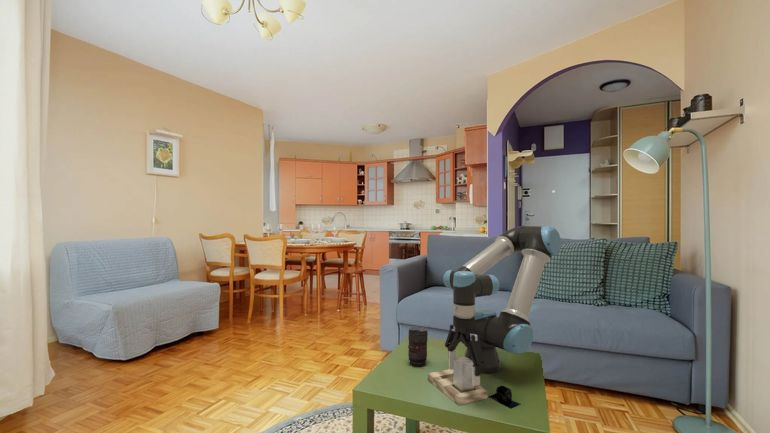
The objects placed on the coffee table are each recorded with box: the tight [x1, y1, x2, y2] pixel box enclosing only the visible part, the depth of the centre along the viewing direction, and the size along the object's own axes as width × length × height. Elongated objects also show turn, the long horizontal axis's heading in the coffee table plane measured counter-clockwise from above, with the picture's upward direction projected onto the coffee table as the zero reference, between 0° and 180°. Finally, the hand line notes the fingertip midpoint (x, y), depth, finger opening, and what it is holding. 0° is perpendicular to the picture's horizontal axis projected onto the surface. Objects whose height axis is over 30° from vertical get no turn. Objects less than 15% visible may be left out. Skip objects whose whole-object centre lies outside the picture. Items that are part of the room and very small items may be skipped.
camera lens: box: [407, 325, 429, 368], centre depth 149 cm, size 8×8×15 cm
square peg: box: [453, 356, 474, 393], centre depth 122 cm, size 5×5×12 cm
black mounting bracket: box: [488, 385, 522, 410], centre depth 119 cm, size 12×7×5 cm, turn 34°
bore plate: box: [427, 369, 489, 406], centre depth 127 cm, size 12×20×2 cm, turn 23°
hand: (463, 376), depth 122 cm, fingers open, 13 cm apart
